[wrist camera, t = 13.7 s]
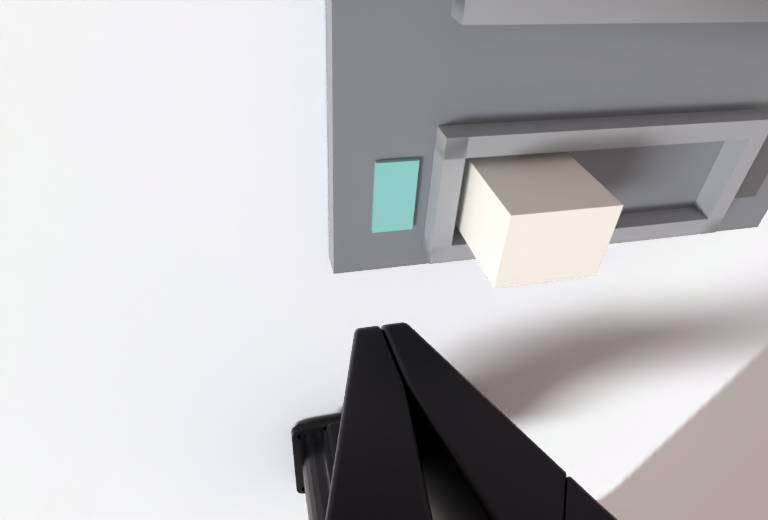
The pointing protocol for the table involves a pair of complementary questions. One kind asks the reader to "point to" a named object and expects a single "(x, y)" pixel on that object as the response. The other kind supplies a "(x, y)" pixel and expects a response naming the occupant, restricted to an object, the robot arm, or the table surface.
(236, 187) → the table surface
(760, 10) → the switch board
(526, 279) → the tab
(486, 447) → the robot arm
